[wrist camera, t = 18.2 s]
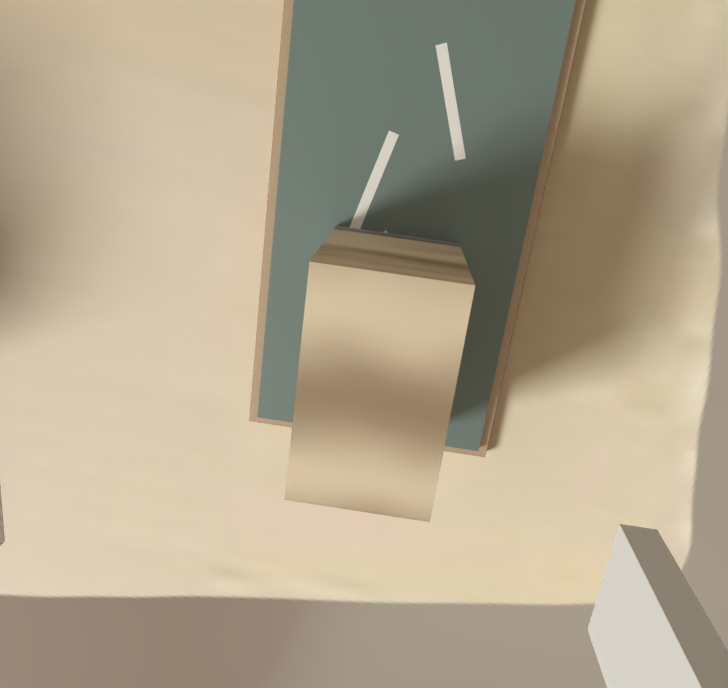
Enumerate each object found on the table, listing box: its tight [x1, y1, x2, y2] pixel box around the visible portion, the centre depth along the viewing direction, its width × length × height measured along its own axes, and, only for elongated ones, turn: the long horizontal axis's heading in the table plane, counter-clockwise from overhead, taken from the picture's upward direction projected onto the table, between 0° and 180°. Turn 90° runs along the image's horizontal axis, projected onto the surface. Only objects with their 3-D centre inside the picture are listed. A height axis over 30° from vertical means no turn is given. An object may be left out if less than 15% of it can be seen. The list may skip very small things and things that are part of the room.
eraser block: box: [285, 226, 475, 522], centre depth 29 cm, size 10×6×8 cm, turn 172°
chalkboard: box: [249, 0, 586, 457], centre depth 31 cm, size 27×13×1 cm, turn 172°
